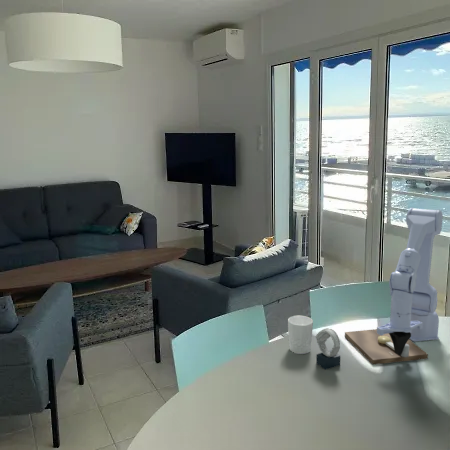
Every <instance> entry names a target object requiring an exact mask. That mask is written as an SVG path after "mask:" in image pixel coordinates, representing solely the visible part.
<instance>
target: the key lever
mask: <svg viewBox="0 0 450 450" xmlns="http://www.w3.org/2000/svg"><path fill="white" fill-rule="evenodd" d="M378 342H379V343H381V344H386V345H387V346H389V347H390V348H392V349H393V350H394V345H393V343H392V342H391V338H389V337H387V336H379V337H378ZM401 356H402V357H408V356H409V345H408V344H405V346H404V349H403V352H402V354H401Z"/></svg>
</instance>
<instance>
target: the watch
mask: <svg viewBox="0 0 450 450" xmlns="http://www.w3.org/2000/svg"><path fill="white" fill-rule="evenodd" d="M330 337H331V339H332V342H333V343H332V344H333V347H332V349H328V348H327V346H326V342H327V341H328V339H329V338H330ZM315 339H316V343H317V345H318V348H319V350H320V352H318V353H316V356H315V357H316V362H315V363H316V364H317V365H318V366H319V367H321V368H322V369H324V370H330V369H332V368H336V367H339V366H341V355H340V354H338V353H339V352H340V349H341V342H340V338H339V336H338V334H337V332H336V331H335V330H334V329H332V328H323V329H322V330H320V331H319V332H317V333H316V336H315Z"/></svg>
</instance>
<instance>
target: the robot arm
mask: <svg viewBox="0 0 450 450" xmlns="http://www.w3.org/2000/svg"><path fill="white" fill-rule="evenodd" d="M443 219H444V217H443V212H442V210H441V209H429V208H427V209H425V208H414V207H410V208H409V209H408V210H407V212H406V217H405V223H406V225H407V230H408V231H409V233H408V239H407V244H406V248H405V249H404V250H402V251H401V252H400V254H399V258H398V262H397V264H396V268H395V270H394V271H392V272H391V273H390V275H389V276H390V277H389V281H388V282H389V295H390V296H391V298H390V299H391V300H390V313H389V314H390V315H389V316H390V317H389V319H390V321H389V322H388V323H385V324H383V325H380V326H377V327H376V329H377V333H378V334H379V335H384V334H387V333H389V335H390V337H391V339H392V342H393V345H394V350H395V353H396V354H398V355H401V354H402V352H403V349H404V346H405V344H406V343H407V341H408V340H410V341H412V342H413V343H415V342H423V341H433V340H440V337H439V323H440V320H439V319H440V318H439V316H438V313H437V311H436V310H437V307H438V290H437V289H436V287H434V286H433V285H432V284H431V283H430V279H431V278H430V277H431V269H432V256H433V248H434V240H435V237H436V236H438V235H441V233H442V230H443V229H442V228H443Z"/></svg>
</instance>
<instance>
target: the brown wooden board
mask: <svg viewBox="0 0 450 450" xmlns="http://www.w3.org/2000/svg"><path fill="white" fill-rule="evenodd" d="M379 336H387V337H389V338H391V337H390V335H389V333H387V334H384V335H379V334H378V333H377V328H375V329H373V328H372V329H363V330H354V331H344V337H345V338H346V340H348V341H349V343H351V344H352V345H353V347H355V348H356V350H358V351H359V352H360V353H361V354H362V355H363V357H364V358H365V359H367V360H368V362H369V363H371V364H372V365H382V364H389V363H390V364H393V363H398V362H399V363H400V362H407V361H408V362H410V361H417V360H418V361H419V360H427V359H428V358H429V357H428V356H429V354H428V353H427V352H426V351H425V350H423V349H422V348H421V347H419V346H418V345H417V344H416V343H415V342H414V341H412V340H411V339H409V340H408V341H407V343H406V344H408V345H409V356H408V357H402V356H401V355H398V354H396V353H395V350H393V349H392V348H390V347H389V346H387V345H386V344H381V343H379V342H378V337H379ZM391 342H392V339H391ZM392 343H393V342H392Z"/></svg>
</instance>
